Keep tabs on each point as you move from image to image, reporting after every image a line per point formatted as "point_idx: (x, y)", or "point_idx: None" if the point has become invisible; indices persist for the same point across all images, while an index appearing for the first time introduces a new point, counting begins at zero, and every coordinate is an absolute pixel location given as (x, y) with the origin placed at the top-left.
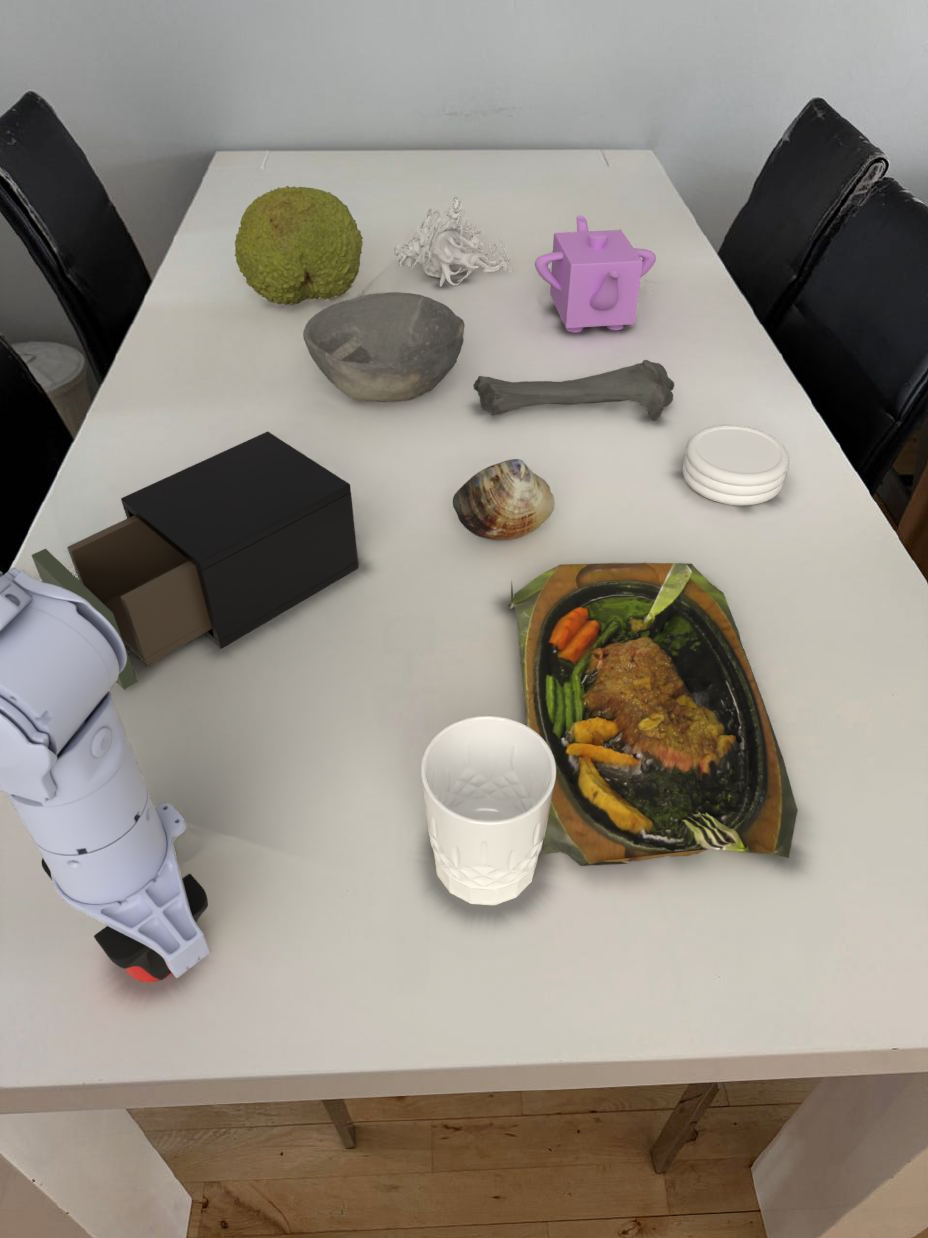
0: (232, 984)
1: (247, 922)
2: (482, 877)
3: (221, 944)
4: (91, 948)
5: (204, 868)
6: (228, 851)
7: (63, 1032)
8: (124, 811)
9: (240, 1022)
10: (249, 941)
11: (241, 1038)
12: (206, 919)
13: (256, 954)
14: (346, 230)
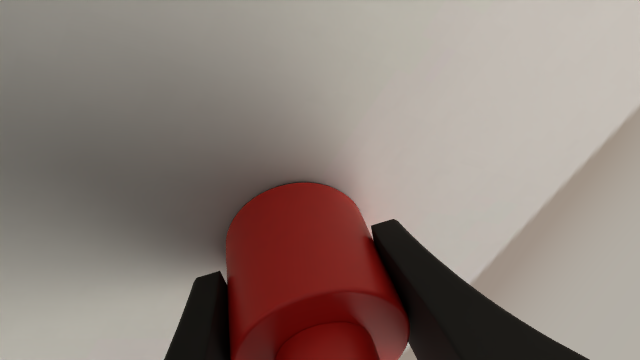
0: (456, 130)
1: (343, 50)
2: None
3: (359, 125)
4: None
5: (113, 104)
6: (68, 17)
7: None
8: None
9: (528, 137)
10: (393, 64)
11: (552, 143)
12: (278, 138)
13: (434, 60)
14: None
